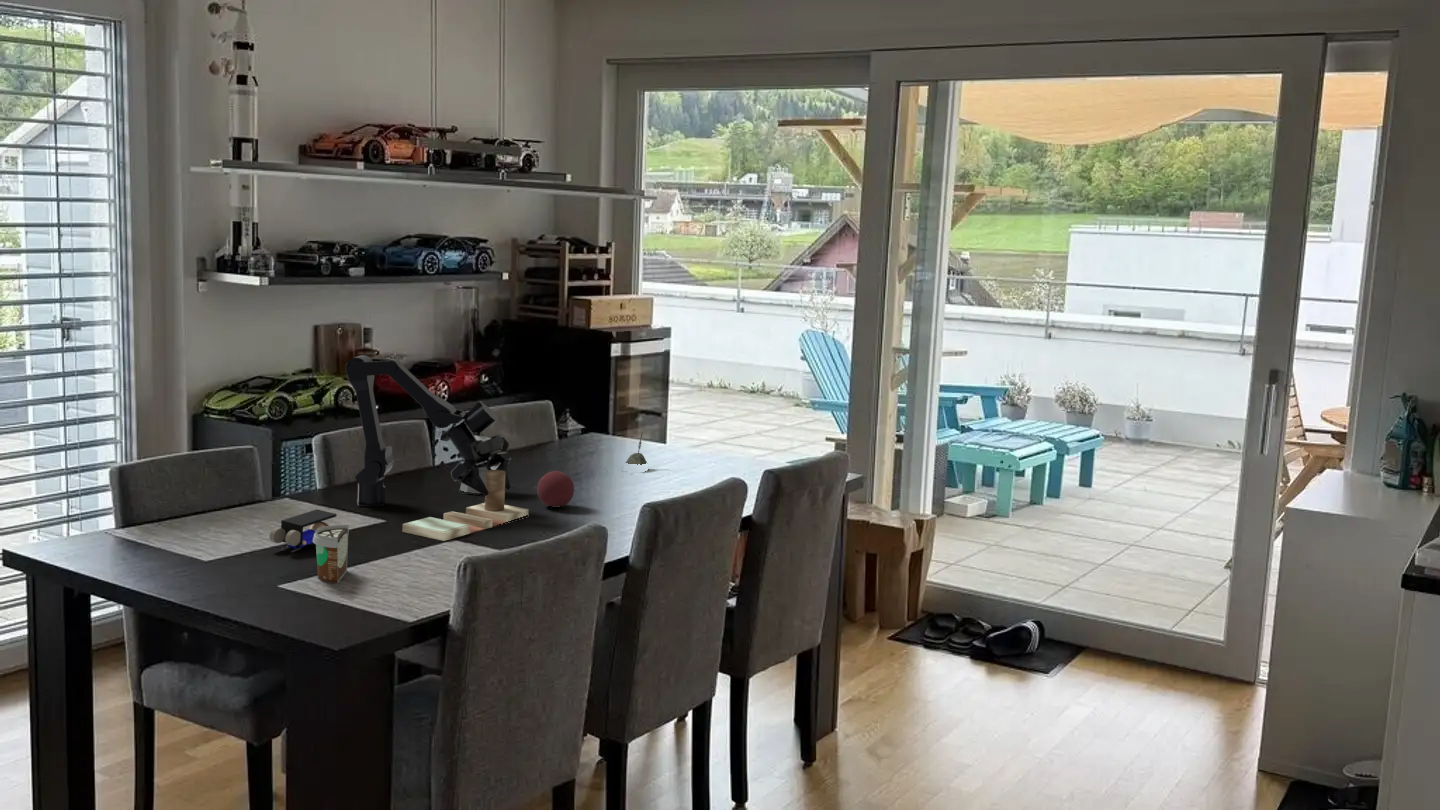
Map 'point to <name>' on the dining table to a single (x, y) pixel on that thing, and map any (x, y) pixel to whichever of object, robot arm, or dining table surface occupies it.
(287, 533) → the figurine character
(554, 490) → the decorative ball
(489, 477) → the walnut cylinder
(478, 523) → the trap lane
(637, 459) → the sword in stone
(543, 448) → the dining table surface
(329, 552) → the food container
